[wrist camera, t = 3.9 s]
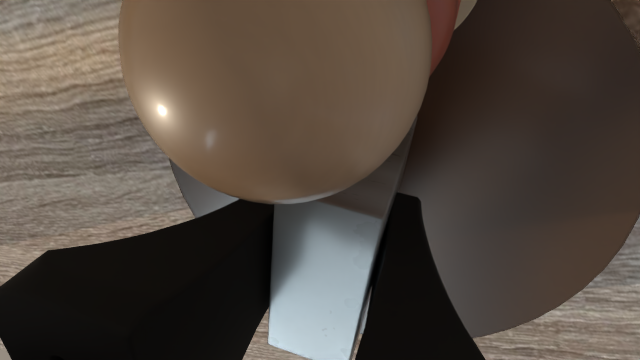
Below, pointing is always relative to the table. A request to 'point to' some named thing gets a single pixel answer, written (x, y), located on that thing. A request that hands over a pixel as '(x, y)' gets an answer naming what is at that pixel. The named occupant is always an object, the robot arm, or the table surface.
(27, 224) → the table surface
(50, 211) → the table surface
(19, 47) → the table surface
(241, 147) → the disc
